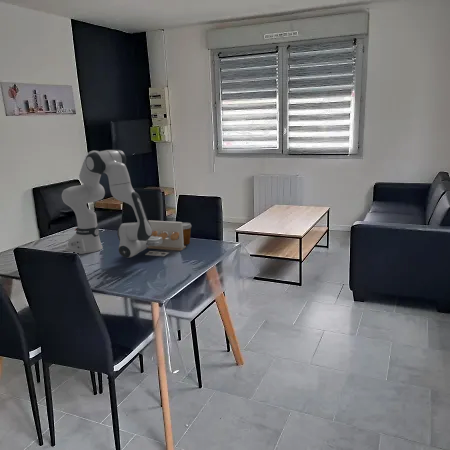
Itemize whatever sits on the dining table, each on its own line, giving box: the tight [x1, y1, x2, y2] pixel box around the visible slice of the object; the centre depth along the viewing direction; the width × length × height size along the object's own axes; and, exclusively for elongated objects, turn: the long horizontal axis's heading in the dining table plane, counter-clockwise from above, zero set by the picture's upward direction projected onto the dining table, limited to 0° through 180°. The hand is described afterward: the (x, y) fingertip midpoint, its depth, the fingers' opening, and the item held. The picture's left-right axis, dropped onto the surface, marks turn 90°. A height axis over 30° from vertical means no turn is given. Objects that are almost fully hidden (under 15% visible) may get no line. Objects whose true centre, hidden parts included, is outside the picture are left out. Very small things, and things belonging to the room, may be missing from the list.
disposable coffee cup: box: [182, 222, 192, 246], centre depth 258 cm, size 10×10×12 cm
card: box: [144, 250, 170, 257], centre depth 240 cm, size 12×6×1 cm, turn 72°
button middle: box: [157, 232, 168, 240], centre depth 246 cm, size 4×6×4 cm, turn 161°
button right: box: [170, 232, 179, 240], centre depth 246 cm, size 4×6×4 cm, turn 161°
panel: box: [146, 219, 187, 252], centre depth 249 cm, size 22×7×16 cm, turn 71°
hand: (151, 236), depth 248 cm, fingers closed, pressing on button left
